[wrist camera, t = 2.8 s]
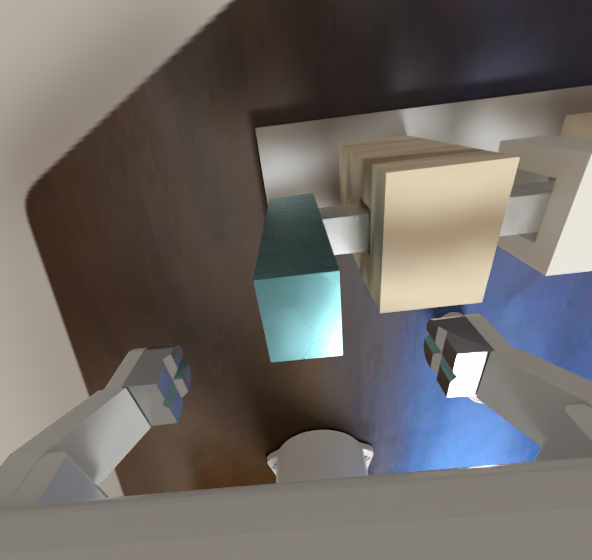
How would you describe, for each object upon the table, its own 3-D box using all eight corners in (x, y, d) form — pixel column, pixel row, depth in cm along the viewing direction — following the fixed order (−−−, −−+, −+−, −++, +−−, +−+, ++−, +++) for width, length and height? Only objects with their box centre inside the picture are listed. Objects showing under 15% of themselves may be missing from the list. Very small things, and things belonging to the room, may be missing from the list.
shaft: (650, 209, 21) (960, 292, 11) (277, 251, 21) (270, 362, 12) (682, 148, 19) (1093, 187, 9) (269, 198, 19) (253, 280, 10)
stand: (575, 216, 30) (793, 295, 17) (276, 250, 31) (268, 349, 18) (628, 80, 24) (1026, 42, 11) (256, 127, 25) (224, 144, 12)
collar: (516, 230, 24) (595, 270, 18) (479, 234, 24) (545, 275, 18) (544, 135, 20) (654, 145, 14) (500, 140, 20) (592, 152, 14)
